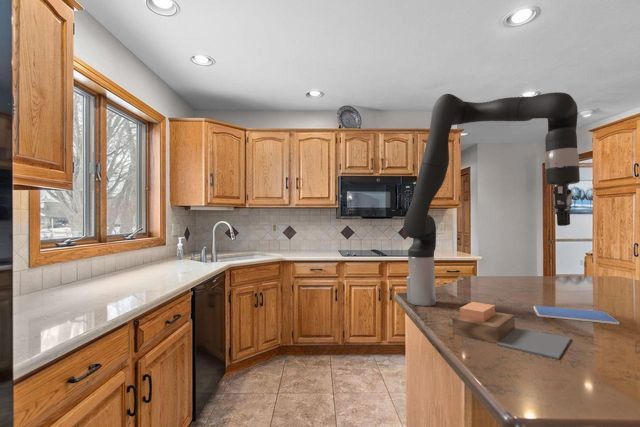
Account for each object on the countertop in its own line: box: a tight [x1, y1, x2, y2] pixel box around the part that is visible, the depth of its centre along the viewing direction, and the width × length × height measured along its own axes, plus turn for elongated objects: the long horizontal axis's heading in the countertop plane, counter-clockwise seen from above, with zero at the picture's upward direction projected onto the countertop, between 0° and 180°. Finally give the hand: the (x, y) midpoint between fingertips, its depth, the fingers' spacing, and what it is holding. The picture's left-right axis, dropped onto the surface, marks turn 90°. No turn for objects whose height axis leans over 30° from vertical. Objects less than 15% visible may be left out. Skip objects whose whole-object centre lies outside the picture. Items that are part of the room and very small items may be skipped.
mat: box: [496, 327, 572, 360], centre depth 78 cm, size 12×16×1 cm
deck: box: [452, 311, 516, 345], centre depth 86 cm, size 11×14×4 cm
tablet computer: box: [533, 305, 621, 325], centre depth 99 cm, size 19×13×1 cm, turn 62°
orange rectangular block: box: [459, 301, 496, 322], centre depth 87 cm, size 6×9×2 cm, turn 134°
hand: (563, 225), depth 88 cm, fingers open, 8 cm apart
